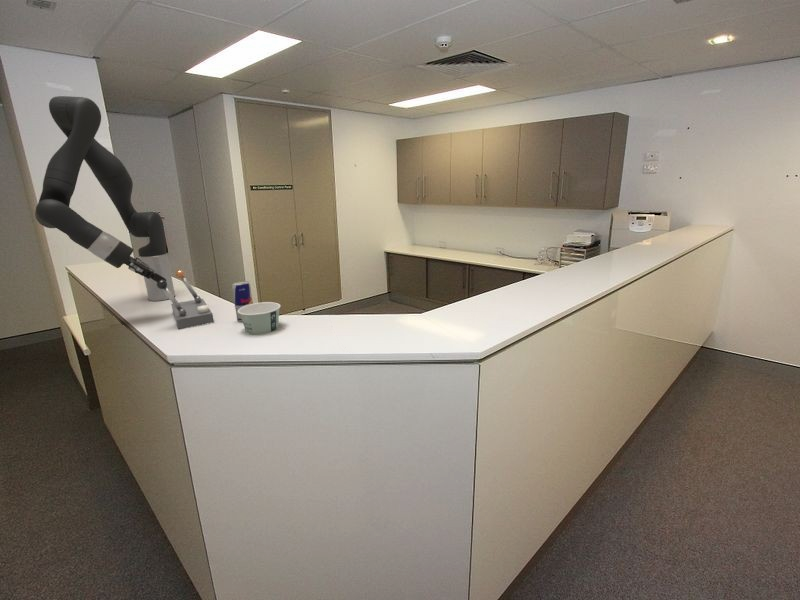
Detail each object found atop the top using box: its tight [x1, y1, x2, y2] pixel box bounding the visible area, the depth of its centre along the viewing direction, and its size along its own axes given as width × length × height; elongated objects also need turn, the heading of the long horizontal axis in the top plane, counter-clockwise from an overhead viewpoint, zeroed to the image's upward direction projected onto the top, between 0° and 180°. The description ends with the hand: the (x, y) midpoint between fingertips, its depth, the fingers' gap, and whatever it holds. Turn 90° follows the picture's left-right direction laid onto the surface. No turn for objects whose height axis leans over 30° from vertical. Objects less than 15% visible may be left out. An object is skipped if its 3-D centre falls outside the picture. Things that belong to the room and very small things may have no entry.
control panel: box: [171, 298, 215, 330], centre depth 135 cm, size 22×10×3 cm, turn 32°
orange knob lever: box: [175, 269, 202, 303], centre depth 138 cm, size 3×3×13 cm
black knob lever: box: [156, 280, 186, 316], centre depth 124 cm, size 3×3×13 cm
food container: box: [238, 301, 281, 335], centre depth 121 cm, size 12×12×6 cm
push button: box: [197, 304, 210, 313], centre depth 130 cm, size 3×3×2 cm
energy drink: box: [231, 280, 254, 323], centre depth 129 cm, size 5×5×12 cm
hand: (164, 282), depth 134 cm, fingers closed
